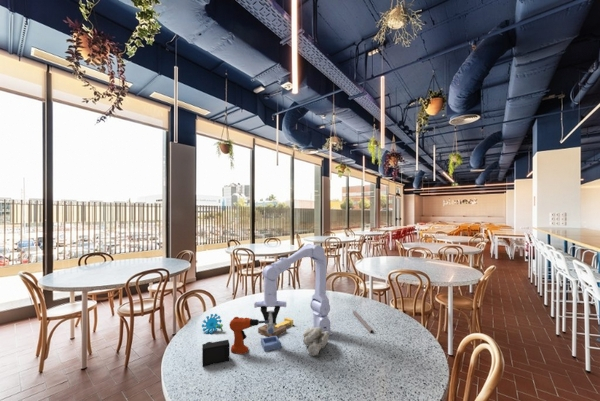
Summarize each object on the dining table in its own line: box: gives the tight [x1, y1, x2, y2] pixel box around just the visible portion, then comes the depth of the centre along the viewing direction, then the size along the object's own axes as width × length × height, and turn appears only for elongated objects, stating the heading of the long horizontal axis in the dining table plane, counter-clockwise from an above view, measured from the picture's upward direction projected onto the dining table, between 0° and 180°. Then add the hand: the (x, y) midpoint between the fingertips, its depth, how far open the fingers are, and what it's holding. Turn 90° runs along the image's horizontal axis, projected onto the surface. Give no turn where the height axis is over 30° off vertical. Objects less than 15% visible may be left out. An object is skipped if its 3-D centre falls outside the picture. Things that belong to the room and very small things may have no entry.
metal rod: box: [352, 310, 375, 334], centre depth 145 cm, size 2×27×2 cm, turn 7°
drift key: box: [274, 317, 294, 329], centre depth 140 cm, size 5×10×3 cm, turn 140°
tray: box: [260, 336, 282, 352], centre depth 120 cm, size 8×8×2 cm
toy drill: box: [229, 316, 269, 355], centre depth 115 cm, size 5×19×15 cm, turn 79°
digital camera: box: [201, 339, 231, 368], centre depth 109 cm, size 10×5×7 cm, turn 112°
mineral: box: [302, 327, 330, 357], centre depth 118 cm, size 12×17×10 cm
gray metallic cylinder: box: [267, 310, 274, 334], centre depth 121 cm, size 3×3×9 cm
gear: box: [201, 313, 224, 334], centre depth 138 cm, size 11×6×10 cm
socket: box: [257, 322, 290, 337], centre depth 136 cm, size 10×15×2 cm, turn 140°
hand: (270, 323), depth 121 cm, fingers closed on gray metallic cylinder, 3 cm apart
